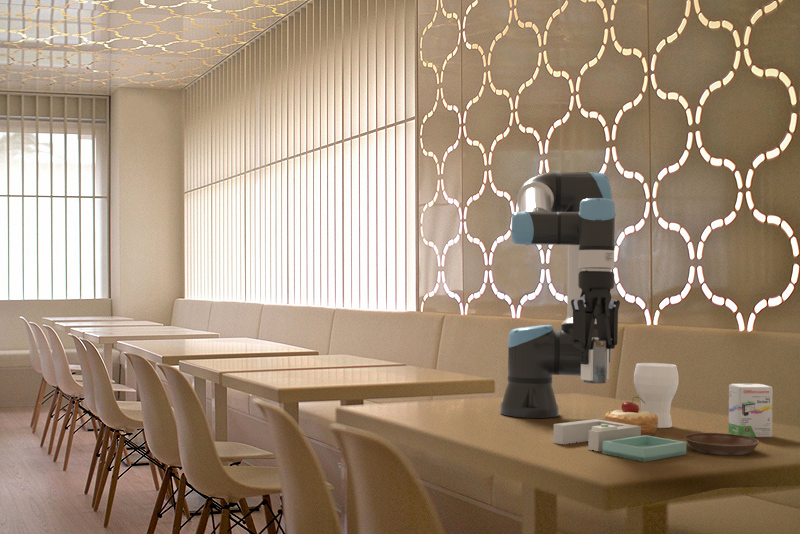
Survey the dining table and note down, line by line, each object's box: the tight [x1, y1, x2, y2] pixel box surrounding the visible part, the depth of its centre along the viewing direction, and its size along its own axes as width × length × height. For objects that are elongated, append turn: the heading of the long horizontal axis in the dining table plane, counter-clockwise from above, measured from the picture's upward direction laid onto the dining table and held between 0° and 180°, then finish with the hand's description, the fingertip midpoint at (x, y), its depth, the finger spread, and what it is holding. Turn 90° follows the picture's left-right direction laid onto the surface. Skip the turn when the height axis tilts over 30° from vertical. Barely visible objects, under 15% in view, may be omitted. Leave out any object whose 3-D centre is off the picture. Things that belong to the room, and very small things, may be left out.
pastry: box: [604, 395, 658, 437], centre depth 206 cm, size 12×12×9 cm
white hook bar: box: [552, 418, 641, 452], centre depth 192 cm, size 12×14×5 cm
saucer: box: [684, 432, 760, 456], centre depth 188 cm, size 15×15×3 cm
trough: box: [601, 435, 687, 463], centre depth 181 cm, size 10×14×2 cm
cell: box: [583, 337, 607, 385], centre depth 192 cm, size 5×5×10 cm
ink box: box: [728, 383, 774, 438], centre depth 207 cm, size 8×5×12 cm, turn 101°
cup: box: [633, 362, 680, 429], centre depth 220 cm, size 11×11×15 cm
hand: (594, 379), depth 192 cm, fingers closed on cell, 4 cm apart
